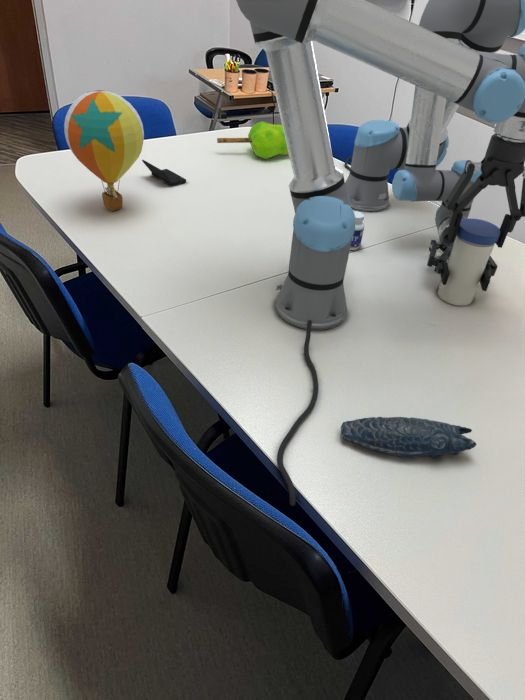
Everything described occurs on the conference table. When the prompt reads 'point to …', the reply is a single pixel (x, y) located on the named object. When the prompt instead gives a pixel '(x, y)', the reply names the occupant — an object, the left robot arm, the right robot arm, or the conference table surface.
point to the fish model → (407, 436)
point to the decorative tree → (263, 140)
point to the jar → (464, 271)
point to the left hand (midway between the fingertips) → (474, 242)
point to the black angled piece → (165, 175)
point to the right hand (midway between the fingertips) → (466, 282)
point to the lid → (478, 231)
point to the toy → (105, 138)
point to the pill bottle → (357, 231)
